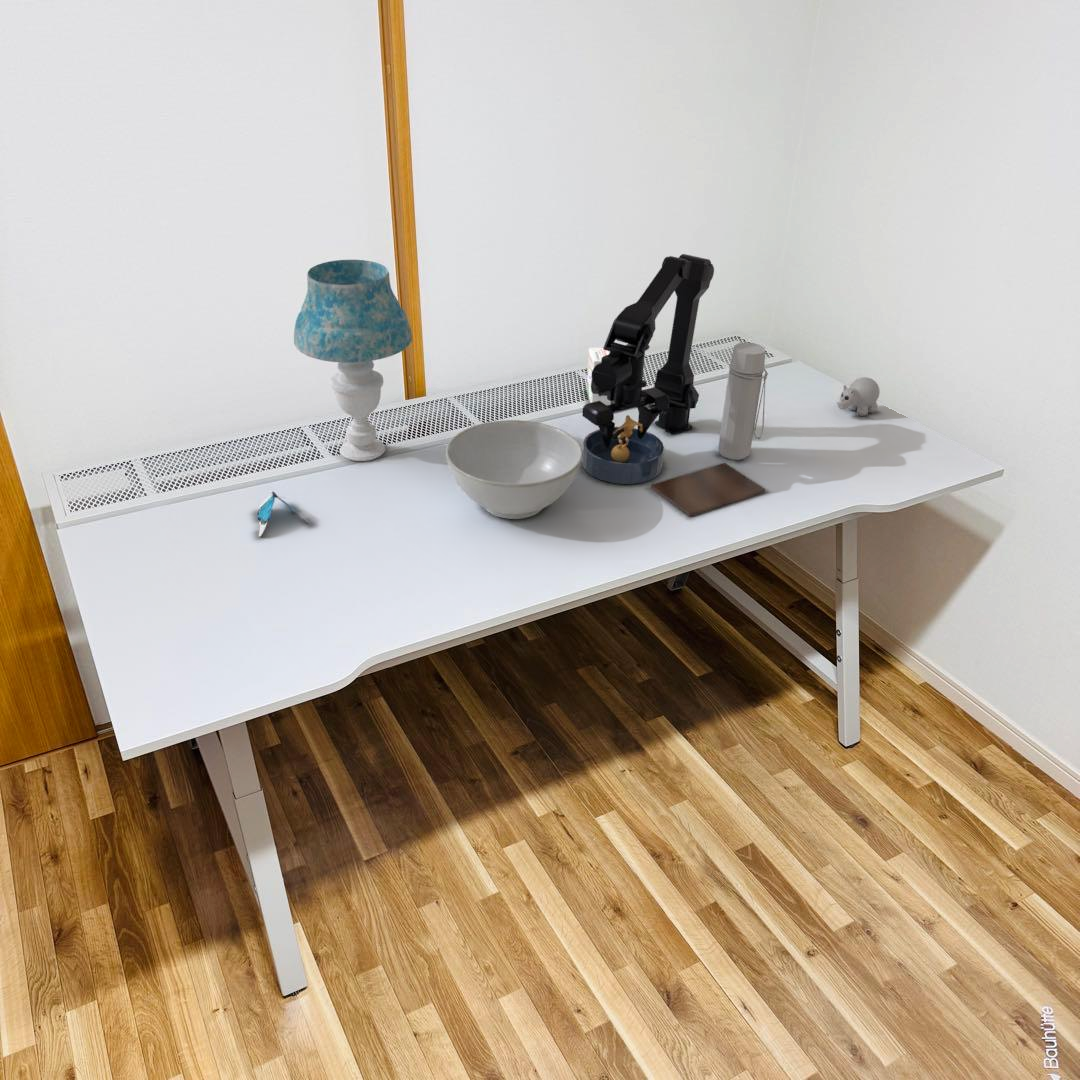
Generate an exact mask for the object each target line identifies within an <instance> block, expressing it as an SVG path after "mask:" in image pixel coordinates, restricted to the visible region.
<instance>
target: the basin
mask: <svg viewBox="0 0 1080 1080" xmlns="http://www.w3.org/2000/svg"><path fill="white" fill-rule="evenodd" d="M618 427H619V426H615V427H614V431H615V430H616V429H617V428H618ZM637 430H638V428H636V427H634V429H633V430H632V435H631V436H629V437H628V439H629V442H628V445H627V446H626V447H627V448H628V450H629V458H628V460H627V461H625V462H623V463H619V462H615V461H614V460H613V459H612V457H611V451H612V449H613V448H614V447H615V446H617V445H620V443H619V439H618V436H619V435H620V434H621V432H623V433H624V428H622V429H620V430H618V431H617V432H616V433H615V434H613V436H612V440H611V444H610V447H609V448H607V447H606V446H605V444H604V441H603V438H602V435H601V432H600V429H599V428H598V429H595V430H593V431H591V432H590V433H588V434H587V435H586V436H585V437H584V439H583V442H582V451H583V458H582V462H581V465H582V467H583V469H584V470H585V472H586V473H587V474H589V475H591V476H592V477H594V478H595V479H598V480H601V481H604V482H607V483H613V484H619V485H622V484H623V485H634V484H641V483H645V482H648V481H651V480H653V479H655V478H656V477H657V476H658V475H660V473H661V472H662V469H663V461H664V451H665V446H664V442H663V441H662V440H661V439H660V438H659V437H658V436H656V435H655V434H653V433H652V432H649V431H647V432H646V433H645V435H644V436H643V438H642V439H639V438H638V433H637ZM614 431H613V432H614ZM621 440H622V442H623V443H622V445H625V444H626V437H625V436H624V437H623V438H621Z"/></svg>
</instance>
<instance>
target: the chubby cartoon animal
mask: <svg viewBox="0 0 1080 1080" xmlns="http://www.w3.org/2000/svg"><path fill="white" fill-rule="evenodd" d="M880 393H881V392H880V387H879V384H878V383H877V381H875V380H874V379H873V378H871V377H866V376H864V377H863V376H862V377H858V378H856V379H855V380H854V381H852V382H851V383H850V385H849V387H848V386H847V385H846V384H844V385H843V390H842V392H841V393H840V396H839V398H838V400H837V402H836V404H837V407H838V409H839V410H844V411H845V410H849V411H856V414H857V415H858V416H863V417H864V416H867V415H868V414H869V413H870V414H875V413H876V412H877V410H878V404H877V403H878V402H877V401H878V400H879V397H880Z"/></svg>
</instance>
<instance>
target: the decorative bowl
mask: <svg viewBox="0 0 1080 1080" xmlns="http://www.w3.org/2000/svg"><path fill="white" fill-rule="evenodd" d="M445 458H446V462H447V465H448V467H449V470H450V473H451V475H452V477H453V479H454V480H455V482H456V483H457V485H458V486H459V488H460V489H461V490H462V491H463V492H464V493H465V495H466V496H467V497H468V498H470V499H471V500H472V501H473V502H475V503H476V504H478V505H479V506H481V507H483V508H484V509H485V510H486V511H487V512H488V513H490V514H491V515H493V516H496V517H498V518H502V519H508V520H519V519H527V518H530V517H533V516H535V515H537V514H539V513H540V512H541V511H542V510H543V509H545V508H547V507H548V506H550V505H552V504H554V502H556V501H557V500H558V499H560V498H561V497H562V496H563V494H565V493H566V492H567V490H568V489H569V488H570V486H571V484H573V482H574V480H575V478H576V477H577V475H578V472H579V470H580V468H581V465H582V458H583V447H582V445H581V444H580V442H579V441H578V440H577V439H576V438H575V437H574V436H572V435H571V434H570V433H569V432H567V431H565V430H562V429H561V428H558V427H555V426H553V425H550V424H546V423H541V422H537V421H532V420H531V421H530V420H519V419H517V420H515V419H511V420H510V419H509V420H507V419H506V420H505V419H504V420H496V421H495V420H494V421H489V422H483V423H479V424H476V425H473V426H470V427H468V428H465V429H463V430H461V431H459V432H458V433H457V434H456V435H454V436H453V437H452V438H451V439H450V440H449V442H448V443H447V446H446V448H445Z"/></svg>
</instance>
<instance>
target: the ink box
mask: <svg viewBox="0 0 1080 1080" xmlns="http://www.w3.org/2000/svg"><path fill="white" fill-rule="evenodd" d="M608 354H610V351H607V350H604V349H603V347H588V359H587V379H586V394H587V396H588V399H589V403H592V402H596V401H601V402H602V403H604V404H605V405H611V404H612V401H609V400H608V399H607V396H599V394H593V393H592V391H591V381H592V371H593V369H594V367H595V366H596V365H597V364H599V363H601V359H602V357H603V356H605V355H608Z"/></svg>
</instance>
